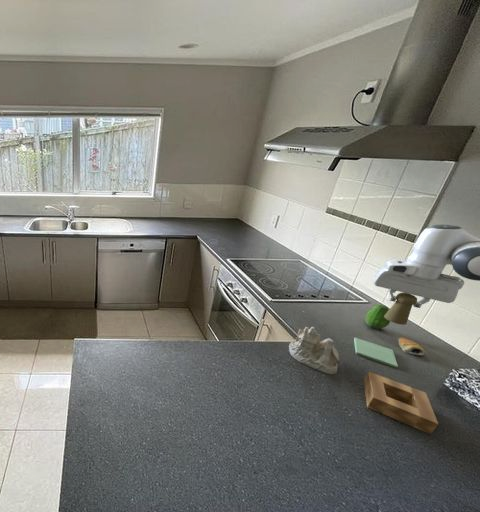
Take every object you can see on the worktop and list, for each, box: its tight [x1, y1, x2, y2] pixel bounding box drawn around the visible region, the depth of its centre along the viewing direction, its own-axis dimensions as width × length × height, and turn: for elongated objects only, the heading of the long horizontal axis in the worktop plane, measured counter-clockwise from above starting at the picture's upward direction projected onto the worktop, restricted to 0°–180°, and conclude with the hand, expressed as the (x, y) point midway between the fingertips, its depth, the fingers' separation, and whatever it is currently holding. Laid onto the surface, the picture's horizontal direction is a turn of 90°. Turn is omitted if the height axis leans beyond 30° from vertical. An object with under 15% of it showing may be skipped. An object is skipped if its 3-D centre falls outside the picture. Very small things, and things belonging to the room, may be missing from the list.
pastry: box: [398, 337, 426, 356], centre depth 117 cm, size 9×7×4 cm
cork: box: [384, 292, 418, 326], centre depth 103 cm, size 6×6×11 cm
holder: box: [362, 370, 439, 435], centre depth 90 cm, size 14×14×4 cm
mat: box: [353, 337, 399, 369], centre depth 114 cm, size 12×12×1 cm
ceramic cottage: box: [288, 326, 340, 375], centre depth 108 cm, size 16×16×15 cm
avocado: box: [365, 304, 391, 329], centre depth 128 cm, size 8×8×12 cm
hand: (403, 303), depth 103 cm, fingers closed on cork, 5 cm apart
